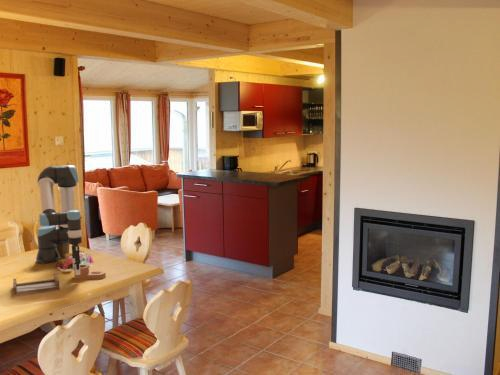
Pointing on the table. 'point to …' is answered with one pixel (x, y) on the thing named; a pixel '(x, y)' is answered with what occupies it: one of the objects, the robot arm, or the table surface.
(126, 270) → the table surface
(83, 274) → the bracket
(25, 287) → the wooden window with sill
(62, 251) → the flowerpot
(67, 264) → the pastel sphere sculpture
